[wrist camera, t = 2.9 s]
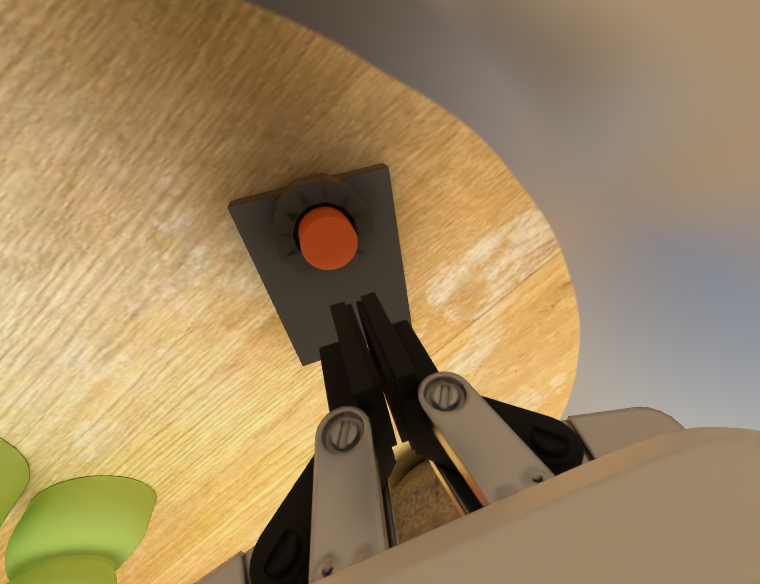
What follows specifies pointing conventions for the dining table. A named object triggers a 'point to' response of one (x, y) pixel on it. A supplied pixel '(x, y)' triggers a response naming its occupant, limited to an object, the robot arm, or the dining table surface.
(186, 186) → the dining table surface
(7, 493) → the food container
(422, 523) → the bowl
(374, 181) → the button base plate
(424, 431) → the robot arm
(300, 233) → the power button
